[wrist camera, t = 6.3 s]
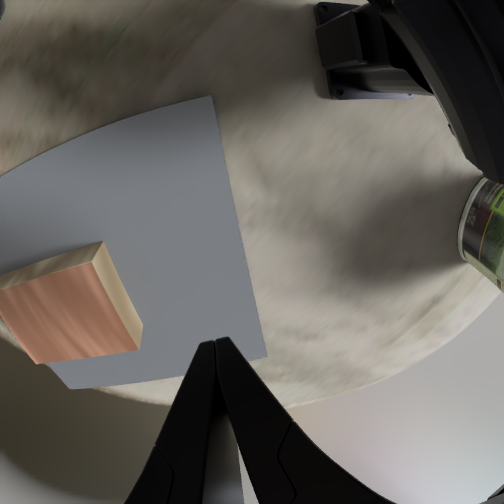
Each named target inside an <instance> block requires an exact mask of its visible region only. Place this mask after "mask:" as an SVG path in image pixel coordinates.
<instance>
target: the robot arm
mask: <svg viewBox="0 0 504 504" xmlns="http://www.w3.org/2000/svg"><path fill="white" fill-rule="evenodd" d="M367 1H368V2H369V3H366V4H364V5H362V6H359V5H351V4H342V3H331V2H319V3H318V4H316V5H315V6H314V13H315V18H316V22H317V29H316V30H315V31H316V36H317V41H318V46H319V51H320V56H321V62H322V67H323V68H324V69H325V70H326V74H327V80H328V87H329V93H330V96H331V97H332V98H333V99H336V100H348V99H412V98H413V97H414V95H415V94H417V95H429V96H435V97H436V99H437V101H438V102H439V104H440V106H441V108H442V110H443V112H444V114H445V116H446V118H447V120H448V122H449V124H448V126H449V128H450V130H451V132H452V134H453V135H454V136H455V137H456V139H457V141H458V144H459V146H460V148H461V150H462V152H463V153H464V155H465V157H466V159H468V160H469V161H470V162H471V163H472V164H473V165H475V166H476V167H477V168H478V169H479V170H481V171H482V172H483V175H484V177H485V178H486V179H489V180H491V181H494V182H496V183H499V184H503V185H504V0H367ZM320 7H323V8H324V9H325V12H323V11H321V9H320ZM337 88H338V89H339V90H340V92H341V93H340V95H339V96H338V95H337V93H336V90H337ZM237 443H238V445H237ZM155 445H156V446H154V447H153V449H152V451H151V454H150V456H149V458H148V460H147V462H146V464H145V467H144V469H143V471H142V473H141V475H140V477H139V479H138V480H137V482H136V484H135V486H134V487H133V489H132V491H131V493H130V494H129V496H128V498H127V499H126V501H125V503H124V504H244V499H243V490H242V481H241V473H240V464H239V455H238V446H239V449H240V452H241V455H242V458H243V461H244V464H245V467H246V470H247V472H248V475H249V478H250V481H251V483H252V486H253V489H254V492H255V494H256V497H257V499H258V502H259V504H396V503H394V502H392V501H390V500H388V499H386V498H384V497H382V496H381V495H379V494H377V493H376V492H374V491H373V490H371V489H370V488H368V487H367V486H366V485H364V484H363V483H362V482H360V481H358V479H356V478H355V477H353V476H352V475H351V474H349V473H348V472H347V471H346V470H344V469H343V468H342V467H341V466H339V465H338V464H337V463H336V462H334V461H333V460H332V459H331V458H330V457H329V456H327V455H326V454H325V453H324V452H323V451H322V450H321V449H320V448H319V447H318V446H317V445H316V444H315V443H314V442H313V441H312V440H311V439H310V438H309V437H308V436H307V435H306V434H305V433H304V432H303V430H302V429H301V428H300V427H299V426H298V425H297V423H296V422H294V420H293V419H292V418H291V416H290V415H289V414H288V412H287V411H286V410H285V409H284V407H283V406H282V405H281V404H280V403H279V401H278V400H277V399H276V398H275V396H274V395H273V394H272V392H271V391H270V390H269V389H268V387H267V386H266V385H265V383H264V382H263V381H262V380H261V378H260V377H259V376H258V374H257V373H256V372H255V370H254V369H253V368H252V367H251V365H250V364H249V363H248V361H247V360H246V359H245V357H244V356H243V354H242V353H241V352H240V350H239V349H238V348H237V346H236V345H235V344H234V342H233V341H232V339H231V338H230V337H229V336H226V337H222V338H217V339H216V340H215V341H214V340H209V341H204V342H201V343H200V344H199V345H198V347H197V350H196V352H195V354H194V356H193V359H192V361H191V363H190V365H189V368H188V370H187V372H186V374H185V377H184V379H183V381H182V383H181V386H180V388H179V390H178V392H177V395H176V397H175V399H174V401H173V404H172V406H171V408H170V411H169V413H168V415H167V417H166V420H165V422H164V424H163V426H162V429H161V431H160V433H159V435H158V438H157V440H156V442H155ZM480 504H504V485H502V486H501V487H500V488H499V489H498V490H497V491H496V492H495V493H493V494H492V495H491V496H490V497H489V498H488V499H487V501H485V502H483V503H480Z"/></svg>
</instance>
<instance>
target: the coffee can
mask: <svg viewBox="0 0 504 504" xmlns="http://www.w3.org/2000/svg"><path fill="white" fill-rule="evenodd" d="M458 250H459V253H460V255H461V257H462V259H463V260H465V261H466V262H468V263H469V264H471V265H472V266H473V267H475V268H476V269H477V270H478V271H479V272H481V273H482V274H483V275H484V276H485V277H487V278H488V279H489V280H490V281H491V282H492V283H494V284H495V285H496V286H497V287H498V288H499V289H500V290H501V291H502V292H504V185H503V184H499V183H496V182H494V181H491V180H489V179H486V178H485V177H483V178H482V179H481V180H480V181H479V183H478V184H477V185H476V186H475V188H474V189H473V191H472V192H471V194H470V196H469V198H468V200H467V202H466V205H465V207H464V210H463V213H462V216H461V220H460V224H459V229H458Z"/></svg>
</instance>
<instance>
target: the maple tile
mask: <svg viewBox="0 0 504 504" xmlns="http://www.w3.org/2000/svg"><path fill="white" fill-rule="evenodd" d="M0 316H1V317H2V319H3V320H4V322H5V323H6V325H7V326H8V328H9V329H10V331H11V332H12V333H13V335H14V336H15V338H16V339H17V340H18V342H19V343H20V344H21V346H22V347H23V348H24V350H25V351H26V352H27V353H28V355H29V356H30V357H31V358H32V360H33V361H34V362H35V363H36V364H40V363H50V362H59V361H67V360H76V359H83V358H90V357H97V356H104V355H111V354H117V353H123V352H129V351H135V350H140V344H141V337H142V330H143V323H142V322H141V320H140V318H139V316H138V314H137V312H136V310H135V308H134V306H133V304H132V302H131V300H130V298H129V296H128V294H127V292H126V290H125V288H124V286H123V284H122V282H121V280H120V278H119V275H118V273H117V271H116V269H115V267H114V264H113V262H112V260H111V258H110V255H109V253H108V251H107V248H106V246H105V244H104V241H101V242H98V243H95V244H92V245H88V246H85V247H82V248H79V249H76V250H73V251H70V252H66V253H63V254H60V255H57V256H54V257H51V258H48V259H45V260H43V261H40V262H37V263H34V264H31V265H28V266H25V267H23V268H20V269H17V270H14V271H11V272H9V273H6V274H3V275H2V276H1V277H0Z"/></svg>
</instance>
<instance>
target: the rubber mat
mask: <svg viewBox="0 0 504 504" xmlns="http://www.w3.org/2000/svg"><path fill="white" fill-rule="evenodd" d="M101 241H104V244H105V246H106V248H107V251H108V253H109V255H110V258H111V260H112V262H113V264H114V267H115V269H116V271H117V273H118V275H119V278H120V280H121V282H122V284H123V286H124V288H125V290H126V292H127V294H128V296H129V298H130V300H131V302H132V304H133V306H134V308H135V310H136V312H137V314H138V316H139V318H140V320H141V322H142V323H143V330H142V337H141V344H140V350H135V351H129V352H123V353H117V354H111V355H104V356H97V357H90V358H83V359H76V360H67V361H59V362H50V363H47V364H48V365H49V366H50V367H51V368H52V370H53V371H54V372H55V373H56V374H57V375H58V376H59V378H60V379H61V380H62V381H63V382H64V383H65V384H66V385H67V386H68V388H69V389H82V388H94V387H105V386H115V385H123V384H131V383H139V382H146V381H153V380H159V379H165V378H171V377H177V376H183V375H185V374H186V372H187V370H188V368H189V365H190V363H191V361H192V359H193V356H194V354H195V352H196V350H197V347H198V345H199V344H200V343H201V342H204V341H209V340H214V341H215V340H216V339H217V338H222V337H226V336H229V337H230V338H231V339H232V341H233V342H234V344H235V345H236V346H237V348H238V349H239V350H240V352H241V353H242V354H243V356H244V357H245V359H246V360H247V361H252V360H256V359H260V358H263V357H267V352H266V348H265V343H264V339H263V334H262V330H261V325H260V321H259V316H258V312H257V307H256V302H255V298H254V293H253V289H252V284H251V280H250V275H249V270H248V266H247V261H246V256H245V252H244V247H243V243H242V238H241V233H240V229H239V224H238V219H237V214H236V210H235V205H234V200H233V196H232V191H231V186H230V181H229V177H228V172H227V167H226V162H225V158H224V153H223V148H222V143H221V138H220V134H219V129H218V124H217V119H216V114H215V109H214V104H213V100H212V95H210V96H205V97H200V98H196V99H192V100H188V101H184V102H180V103H176V104H172V105H168V106H165V107H161V108H158V109H154V110H151V111H148V112H144V113H141V114H138V115H135V116H132V117H129V118H126V119H123V120H120V121H117V122H115V123H112V124H109V125H106V126H104V127H101V128H99V129H96V130H94V131H91V132H89V133H86V134H84V135H81V136H79V137H77V138H74V139H72V140H70V141H68V142H65V143H63V144H61V145H59V146H57V147H55V148H53V149H50V150H48V151H46V152H44V153H42V154H40V155H38V156H37V157H35V158H33V159H31V160H29V161H27V162H25V163H23V164H22V165H20V166H18V167H16V168H14V169H13V170H11V171H9V172H8V173H6V174H4V175H3V176H1V177H0V277H1V276H2V275H3V274H6V273H9V272H11V271H14V270H17V269H20V268H23V267H25V266H28V265H31V264H34V263H37V262H40V261H43V260H45V259H48V258H51V257H54V256H57V255H60V254H63V253H66V252H70V251H73V250H76V249H79V248H82V247H85V246H88V245H92V244H95V243H98V242H101Z"/></svg>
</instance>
